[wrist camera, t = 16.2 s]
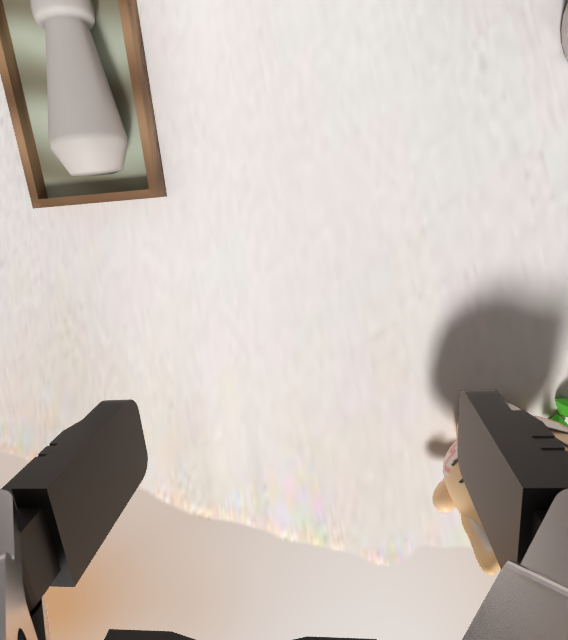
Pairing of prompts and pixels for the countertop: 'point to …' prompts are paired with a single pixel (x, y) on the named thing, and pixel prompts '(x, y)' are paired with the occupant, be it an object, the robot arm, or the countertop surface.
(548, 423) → the kitten
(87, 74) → the salt shaker
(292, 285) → the countertop surface
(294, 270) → the countertop surface
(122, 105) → the tray
